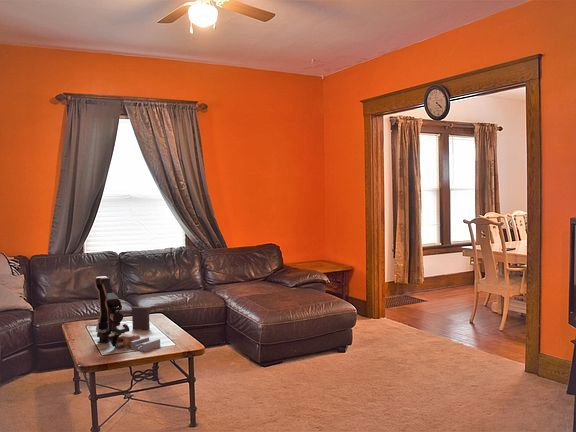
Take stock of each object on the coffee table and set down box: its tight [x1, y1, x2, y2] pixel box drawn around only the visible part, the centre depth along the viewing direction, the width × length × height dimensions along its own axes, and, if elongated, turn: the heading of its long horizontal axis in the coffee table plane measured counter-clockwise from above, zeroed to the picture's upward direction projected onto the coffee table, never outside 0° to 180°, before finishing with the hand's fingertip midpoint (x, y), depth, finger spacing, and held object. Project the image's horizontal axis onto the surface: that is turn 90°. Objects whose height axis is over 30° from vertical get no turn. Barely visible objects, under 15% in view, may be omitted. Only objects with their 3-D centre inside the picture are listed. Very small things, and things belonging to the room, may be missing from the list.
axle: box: [114, 335, 141, 350], centre depth 316 cm, size 16×4×4 cm, turn 147°
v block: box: [130, 336, 161, 352], centre depth 310 cm, size 12×11×4 cm
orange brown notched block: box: [117, 332, 136, 349], centre depth 315 cm, size 7×9×6 cm
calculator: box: [131, 306, 151, 332], centre depth 353 cm, size 11×4×15 cm, turn 74°
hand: (113, 346), depth 308 cm, fingers closed
